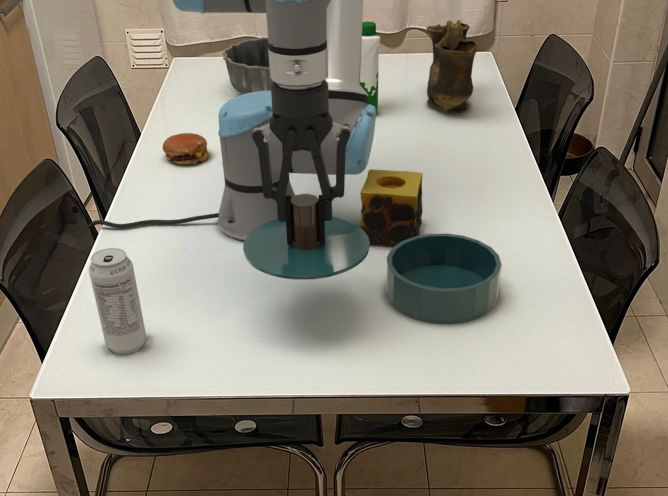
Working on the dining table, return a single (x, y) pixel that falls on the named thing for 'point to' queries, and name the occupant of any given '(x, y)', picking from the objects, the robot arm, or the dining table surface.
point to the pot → (443, 278)
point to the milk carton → (370, 62)
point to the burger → (186, 148)
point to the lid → (306, 244)
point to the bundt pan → (249, 65)
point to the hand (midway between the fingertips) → (306, 239)
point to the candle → (391, 206)
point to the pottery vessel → (451, 67)
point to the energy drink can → (117, 300)
